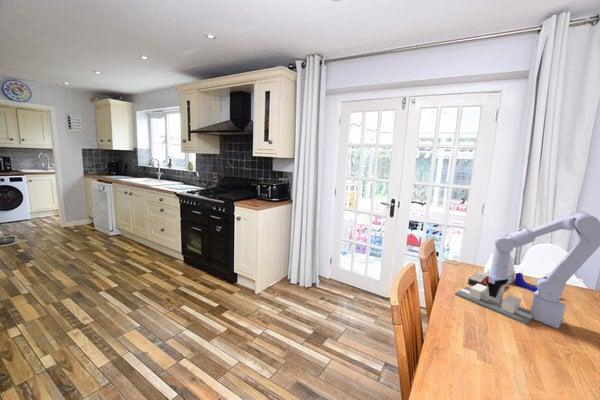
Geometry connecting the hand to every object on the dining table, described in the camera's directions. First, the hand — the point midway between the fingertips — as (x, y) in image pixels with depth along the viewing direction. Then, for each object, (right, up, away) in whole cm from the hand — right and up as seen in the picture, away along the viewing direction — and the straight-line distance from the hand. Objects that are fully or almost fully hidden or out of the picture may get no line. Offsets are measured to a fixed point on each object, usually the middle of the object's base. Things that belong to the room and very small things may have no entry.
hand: (494, 294), depth 115 cm
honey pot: (+22, -1, +29) cm, 36 cm away
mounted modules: (0, -3, +1) cm, 3 cm away
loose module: (0, -2, 0) cm, 2 cm away
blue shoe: (+30, -4, +18) cm, 35 cm away
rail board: (0, -4, +1) cm, 4 cm away
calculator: (+10, -2, +20) cm, 23 cm away
